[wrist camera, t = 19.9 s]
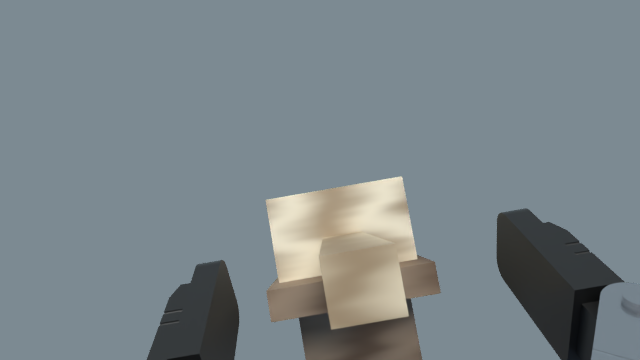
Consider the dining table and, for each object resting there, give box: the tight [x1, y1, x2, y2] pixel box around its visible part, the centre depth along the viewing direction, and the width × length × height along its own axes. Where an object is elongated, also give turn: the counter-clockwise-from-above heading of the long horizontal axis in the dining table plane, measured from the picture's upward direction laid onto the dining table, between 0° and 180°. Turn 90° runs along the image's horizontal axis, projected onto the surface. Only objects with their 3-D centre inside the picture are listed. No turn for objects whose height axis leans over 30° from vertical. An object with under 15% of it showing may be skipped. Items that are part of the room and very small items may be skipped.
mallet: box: [266, 177, 417, 330], centre depth 27 cm, size 10×22×6 cm, turn 179°
